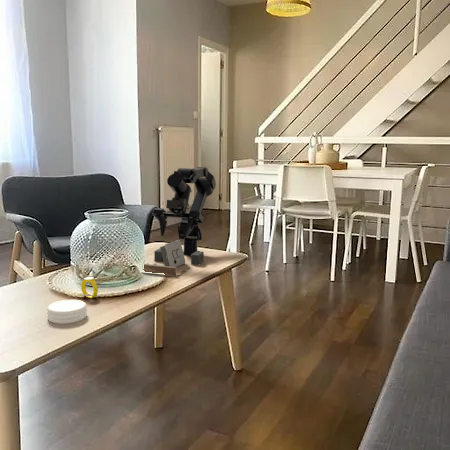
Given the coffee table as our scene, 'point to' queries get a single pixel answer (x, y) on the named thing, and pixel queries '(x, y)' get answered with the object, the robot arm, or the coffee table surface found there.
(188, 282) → the coffee table surface
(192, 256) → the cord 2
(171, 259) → the electrical switch
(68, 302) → the coaster
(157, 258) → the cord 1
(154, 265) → the bay
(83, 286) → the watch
